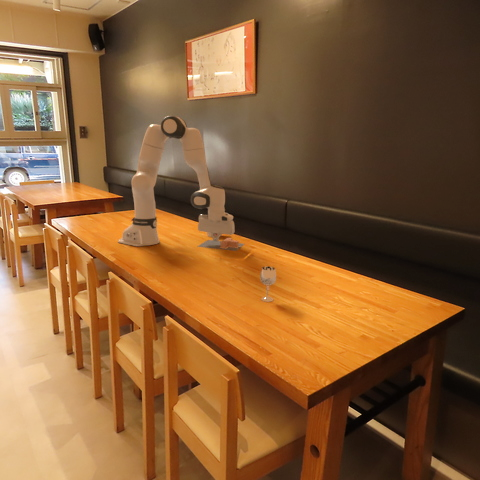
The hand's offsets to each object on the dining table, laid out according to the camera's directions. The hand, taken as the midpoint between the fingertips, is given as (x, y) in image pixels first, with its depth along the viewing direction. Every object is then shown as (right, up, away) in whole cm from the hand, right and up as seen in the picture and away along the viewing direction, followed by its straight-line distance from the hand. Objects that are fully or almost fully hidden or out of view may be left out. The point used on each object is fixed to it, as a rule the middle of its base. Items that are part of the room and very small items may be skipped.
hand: (215, 240), depth 213 cm
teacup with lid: (-1, +3, +22) cm, 22 cm away
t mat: (+3, -3, 0) cm, 4 cm away
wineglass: (+23, -22, -69) cm, 76 cm away
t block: (+8, -3, -2) cm, 9 cm away
